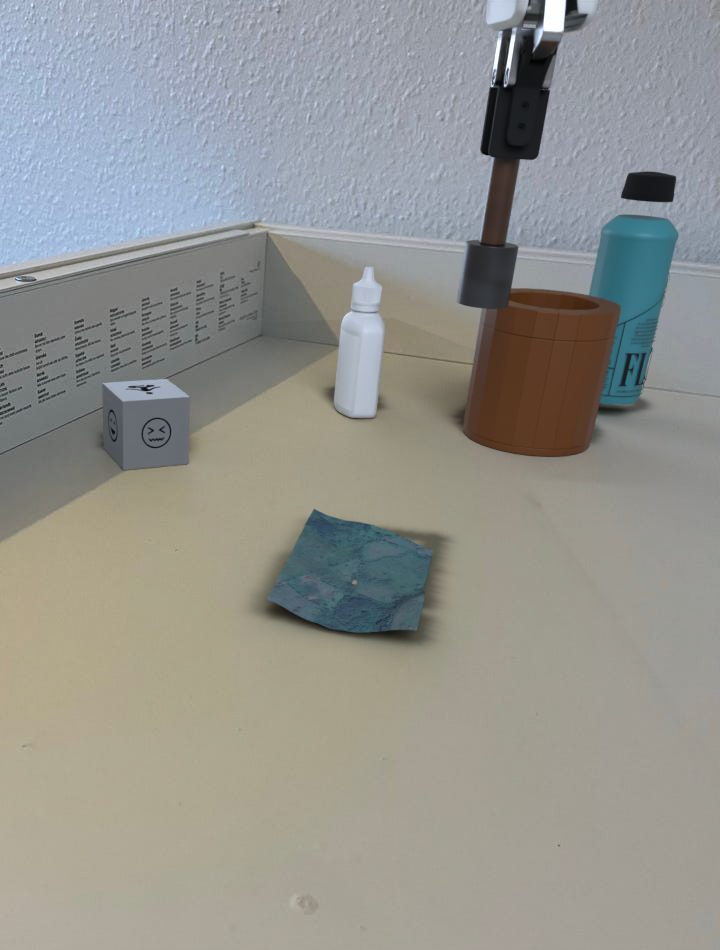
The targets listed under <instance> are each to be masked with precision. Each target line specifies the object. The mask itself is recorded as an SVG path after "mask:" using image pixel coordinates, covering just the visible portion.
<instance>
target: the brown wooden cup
mask: <svg viewBox="0 0 720 950" xmlns="http://www.w3.org/2000/svg"><path fill="white" fill-rule="evenodd" d="M620 312H621V306H620V305H618V304H616V303H615V302H612V301H609V300H606V299H603V298H599V297H594V296H590V295H589V294H584V293H579V292H572V291H564V290H555V289H546V288H529V287H527V288H526V287H524V288H522V287H519V288H517V287H516V288H515V287H513V288H512V287H511V292H510V298H509V303H508V307H506V308H502V309H485V308H481V312H480V318H479V325H478V329H477V336H476V342H475V349H474V356H473V361H472V367H471V372H470V373H471V374H470V380H469V385H468V392H467V397H466V404H465V411H464V417H463V427H462V431H463V433H464V435H465V436H466V437H467V438H469V440H472V441H473V442H476V443H477V444H480V445H482V446H485V447H488V448H491V449H494V450H498V451H502V452H506V453H512V454H517V455H523V456H524V455H525V456H533V457H566V456H572V455H577V454H580V453H583V452H586V451H587V450H588V449H589V447H590V445H591V441H592V438H593V434H594V431H595V429H594V428H595V425H596V421H597V416H598V413H599V407H600V404H601V403H600V399H601V395H602V390H603V386H604V382H605V377H606V373H607V369H608V364H609V360H610V355H611V351H612V347H613V342H614V338H615V333H616V329H617V325H618V320H619V316H620Z"/></svg>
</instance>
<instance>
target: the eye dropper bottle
mask: <svg viewBox="0 0 720 950" xmlns="http://www.w3.org/2000/svg"><path fill="white" fill-rule="evenodd" d="M382 292H383V286H382V284H380V283H378V282H377V281H376V278H375V268H374V267H373V266H365V267H364V270H363V273H362V277H361V279H360V280H359V281H356V282H354V283H353V284H352V291H351V301H350V309H351V310H350V311H349V312H347V313H346V314H345V315H344V316H343V317H342V320H341V325H340V332H339V343H338V352H337V365H336V372H335V385H334V396H333V406H334V409H335V410H336V411H337V412H339V413H340V414H341V415H343V416H345V417H347V418H350V419H373V418H375V417H376V415H377V410H378V404H379V403H378V402H379V392H380V385H381V378H382V376H381V375H382V368H383V367H382V366H383V361H384V359H383V358H384V350H385V349H384V348H385V342H386V341H385V340H386V325H385V321H384V320H383V318H382V316H381V315H380V313H379V311H380V310H381V300H382Z"/></svg>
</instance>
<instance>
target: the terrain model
mask: <svg viewBox="0 0 720 950" xmlns="http://www.w3.org/2000/svg"><path fill="white" fill-rule="evenodd" d="M433 553H434V549H431V548H428V547H426V546H423V545H421V544H418V543H416V542H415V541H413V540H411V539H409V538H405V537H403V536H402V535H399V534H397V533H395V532H393V531H390V530H388V529H386V528H382V527H380V526H377V525H374V524H371V523H365V522H361V521H354V520H345V519H341V518H337V517H334V516H331V515H328V514H326V513H324V512H321V511H320V510H317V509H315V508H313V510H312V512H311V513H310V515H309V517H308V518H307V520H306V523H305V524H304V527H303V528H302V531H301V532H300V534H299V535H298V537H297V540H296V542H295V544H294V546H293V549H292V551H291V552H290V555H289V556H288V557H287V560H286V562H285V563H284V566H283V568H282V569H281V571H280V572H279V574H278V577H277V579H276V582H275V584H274V585H273V587H272V589H271V590H270V593H269V594H268V595H267V598H266V600H267V601H270V602H272V603H275V604H277V605H278V606H281V607H282V608H284V609H286V610H287V611H289V612H290V613H293V615H296V616H298V617H300V618H302V619H304V620H306V621H309V622H311V623H314V624H318V625H320V626H323V627H325V628H328V629H330V630H335V631H342V632H349V633H359V634H361V633H379V632H387V631H388V632H389V631H416V632H417V631H418V628H419V625H420V619H421V614H422V611H423V606H424V602H425V595H426V593H425V587H426V583H427V581H428V580H427V579H428V575H429V570H430V564H431V560H432V556H433Z"/></svg>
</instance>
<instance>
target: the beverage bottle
mask: <svg viewBox="0 0 720 950" xmlns="http://www.w3.org/2000/svg"><path fill="white" fill-rule="evenodd" d="M676 184H677V176H676V175H673V174H669V173H664V172H659V171H649V170H648V171H647V170H646V171H636V172H633V171H632V172H628V173H627V175H626V179H625V181H624V186H623V188H622V191H621V196H620V198H621V199H624V200H627V201H628V200H629V201H637V202H649V203H673V202H674V198H675V191H676V190H675V189H676ZM678 239H679V231H678V230H677V228H676V227H675V225H674V224H673V222H672V221H671V220H670V219H669V218H666V217H660V216H652V215H643V214H642V215H641V214H617V215H616V216H614V217H613V218H612V219H610V220H609V221H608V222H607V223H605V224H604V225H603V226H602V227H601V230H600V239H599V243H598V248H597V253H596V257H595V263H594V268H593V272H592V276H591V277H592V278H591V283H590V287H589V291H588V295H590V296H594V297H599V298H603V299H606V300H609V301H612V302H615V303H616V304H618V305H620V306H621V312H620V316H619V320H618V325H617V329H616V333H615V338H614V342H613V347H612V351H611V355H610V360H609V364H608V369H607V373H606V377H605V382H604V386H603V390H602V395H601V399H600V404H603V405H617V406H624V405H625V406H626V405H632V404H635V403H637V402H638V400H639V398H640V396H641V395H642V394H643V392H642V391H644V386H645V382H646V381H647V377H648V373H649V368H650V364H651V360H652V359H650V358H652V356H653V354H652V353H653V351H654V348H653V344H654V342H655V341H656V339H655V338H656V335H657V332H656V331H657V330H658V327H659V325H658V324H659V322H660V321H659V320H660V314H661V310H662V308H663V306H664V301H665V298H666V296H665V295H666V293H667V288H668V283H669V282H670V278H671V276H670V270H671V265H672V262H673V258H674V253H675V248H676V244H677V241H678Z"/></svg>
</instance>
